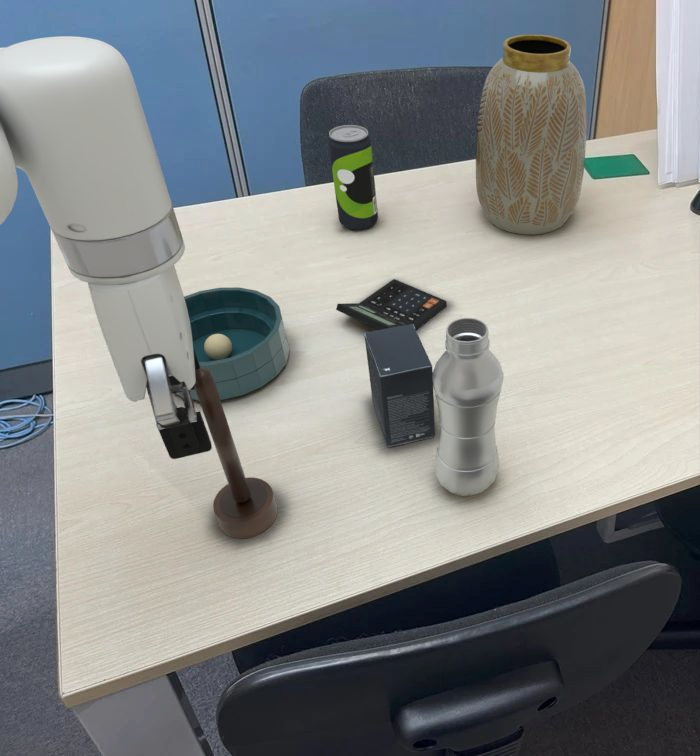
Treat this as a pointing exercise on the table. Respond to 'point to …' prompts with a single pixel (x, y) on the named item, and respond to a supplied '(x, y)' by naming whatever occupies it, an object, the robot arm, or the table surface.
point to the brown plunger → (233, 472)
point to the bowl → (238, 338)
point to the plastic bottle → (467, 408)
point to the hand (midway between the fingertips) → (189, 418)
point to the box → (401, 384)
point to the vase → (531, 136)
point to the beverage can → (353, 176)
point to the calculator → (395, 307)
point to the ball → (218, 346)
